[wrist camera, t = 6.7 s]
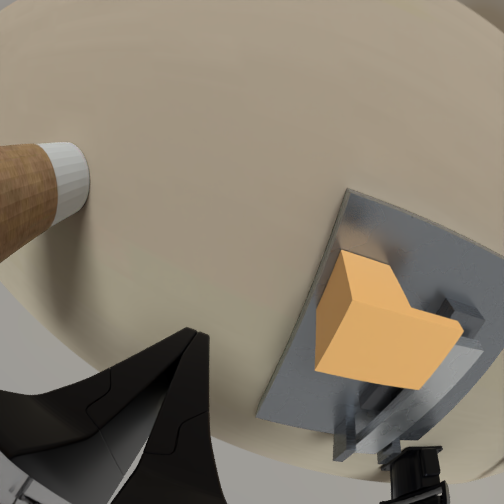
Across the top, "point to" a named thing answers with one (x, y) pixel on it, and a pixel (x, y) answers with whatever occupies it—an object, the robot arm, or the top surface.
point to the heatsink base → (419, 297)
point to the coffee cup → (38, 190)
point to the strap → (418, 398)
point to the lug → (377, 328)
